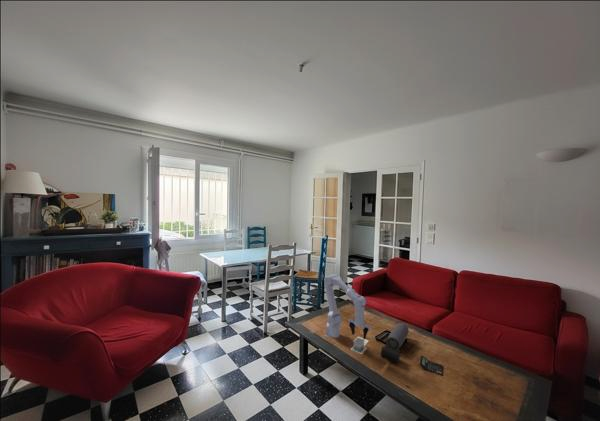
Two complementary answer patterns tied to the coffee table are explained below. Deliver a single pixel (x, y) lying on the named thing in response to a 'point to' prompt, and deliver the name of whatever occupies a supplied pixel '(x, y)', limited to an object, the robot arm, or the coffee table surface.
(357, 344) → the block
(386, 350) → the end cap
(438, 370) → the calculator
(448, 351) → the coffee table surface
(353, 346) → the stand
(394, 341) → the bluetooth speaker
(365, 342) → the stand
